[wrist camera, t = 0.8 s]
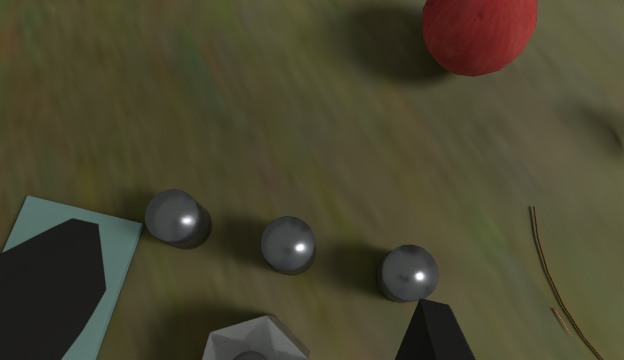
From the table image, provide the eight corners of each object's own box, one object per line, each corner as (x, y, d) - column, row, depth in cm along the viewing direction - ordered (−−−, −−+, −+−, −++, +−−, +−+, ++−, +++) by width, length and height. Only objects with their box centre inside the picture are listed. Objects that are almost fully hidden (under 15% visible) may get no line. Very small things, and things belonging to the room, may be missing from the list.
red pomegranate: (391, 50, 28) (416, -51, 20) (460, 3, 29) (510, -111, 21) (453, 117, 26) (505, 37, 19) (524, 66, 27) (602, -31, 20)
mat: (67, 437, 22) (64, 439, 22) (-59, 400, 23) (-64, 401, 22) (144, 224, 25) (141, 223, 25) (31, 196, 26) (27, 195, 25)
